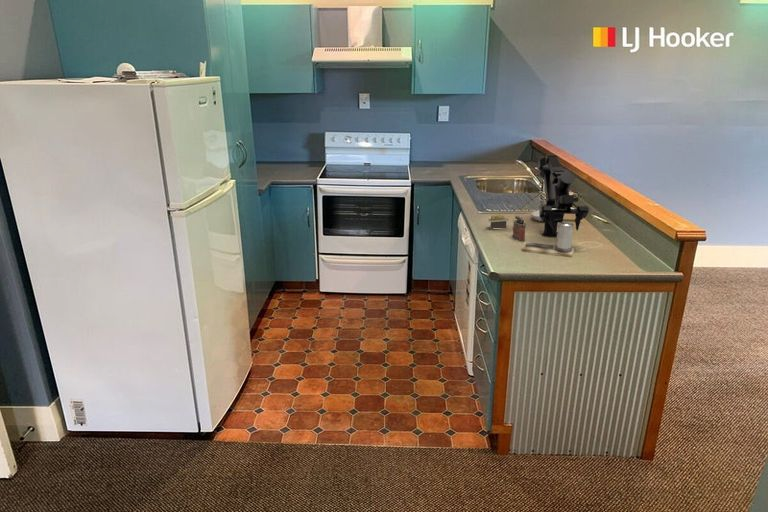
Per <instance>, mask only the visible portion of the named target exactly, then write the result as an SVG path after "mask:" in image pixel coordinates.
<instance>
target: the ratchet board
mask: <svg viewBox="0 0 768 512" xmlns="http://www.w3.org/2000/svg"><path fill="white" fill-rule="evenodd" d="M520 250H521V252H526V253H535V254H543V255H551V256H559V257H566V258H572V257H573V255H574V253H575V246H574V247H573V246H571V248H570V249H560V248H557V247H556V244H548V243H538V242H529V241H524V244H523V245H522V247H521V249H520Z"/></svg>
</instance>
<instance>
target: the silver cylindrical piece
mask: <svg viewBox="0 0 768 512" xmlns="http://www.w3.org/2000/svg"><path fill="white" fill-rule="evenodd" d="M557 232H558V234H557V237H556V244H555V245H556V247H557V248H560V249H570V248H571V247H572V244H573V243H572V242H573V234H574V223H573V222H570V221H563V222H558V227H557Z"/></svg>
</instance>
